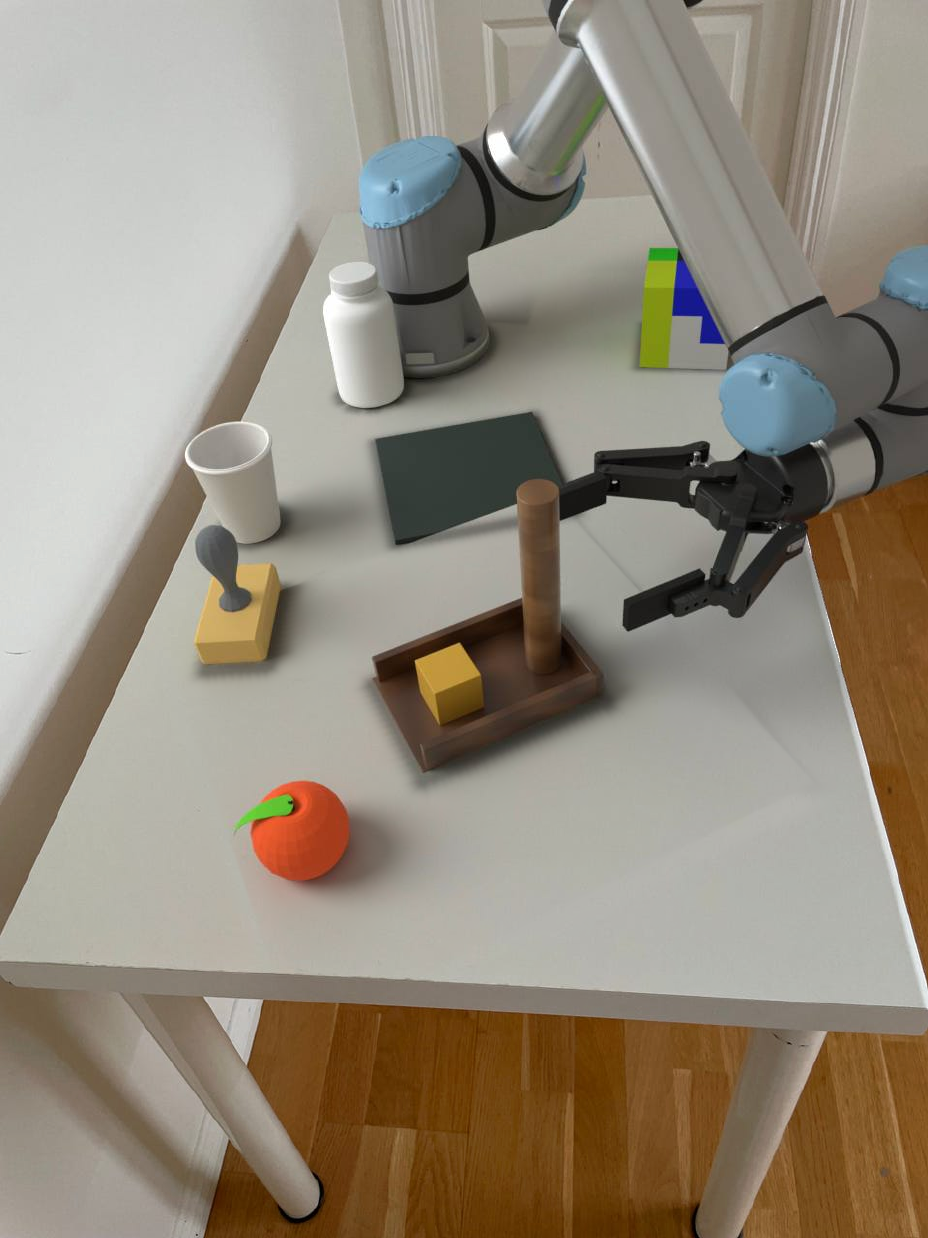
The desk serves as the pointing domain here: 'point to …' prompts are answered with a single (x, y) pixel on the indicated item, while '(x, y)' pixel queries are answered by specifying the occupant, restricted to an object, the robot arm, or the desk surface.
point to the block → (450, 683)
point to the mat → (460, 472)
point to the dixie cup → (238, 478)
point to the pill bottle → (362, 337)
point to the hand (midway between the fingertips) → (577, 562)
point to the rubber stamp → (234, 602)
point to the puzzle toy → (677, 318)
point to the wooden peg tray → (500, 652)
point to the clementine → (299, 830)
